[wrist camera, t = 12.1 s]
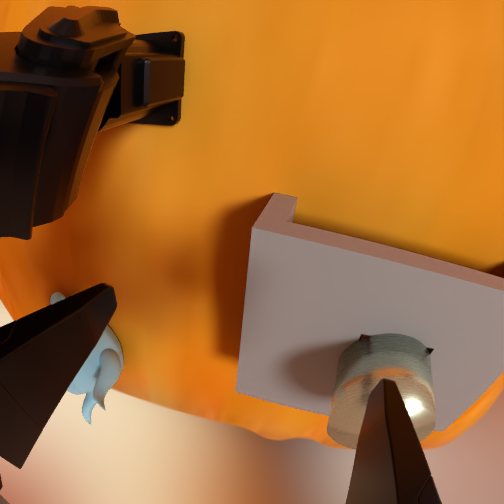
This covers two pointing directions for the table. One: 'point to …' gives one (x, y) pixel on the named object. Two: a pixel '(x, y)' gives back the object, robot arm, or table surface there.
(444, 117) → the table surface
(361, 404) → the grey beige cylinder
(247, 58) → the table surface
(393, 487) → the robot arm
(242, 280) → the table surface
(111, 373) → the teapot
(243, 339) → the base
